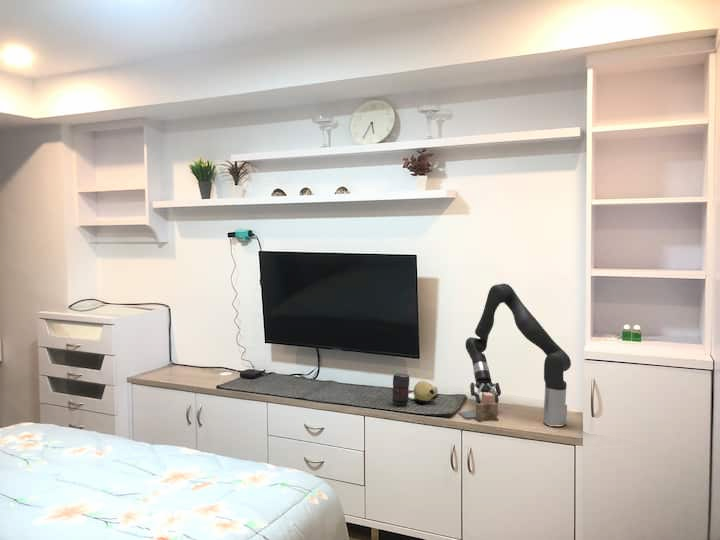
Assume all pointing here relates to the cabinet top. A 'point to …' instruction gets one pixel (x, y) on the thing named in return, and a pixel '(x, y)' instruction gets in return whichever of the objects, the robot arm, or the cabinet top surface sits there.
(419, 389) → the yellow round lump
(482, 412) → the walnut board
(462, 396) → the cabinet top surface
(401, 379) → the camera lens
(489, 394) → the salmon pink rectangular block
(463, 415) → the slate pad
